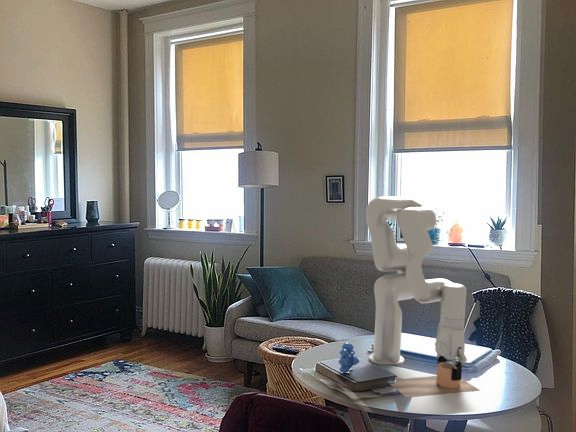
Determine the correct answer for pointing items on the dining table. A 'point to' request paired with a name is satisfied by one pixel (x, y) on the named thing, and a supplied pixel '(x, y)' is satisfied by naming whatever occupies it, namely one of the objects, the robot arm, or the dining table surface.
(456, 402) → the dining table surface
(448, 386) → the collar
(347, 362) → the grapes
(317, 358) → the dining table surface
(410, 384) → the stand
